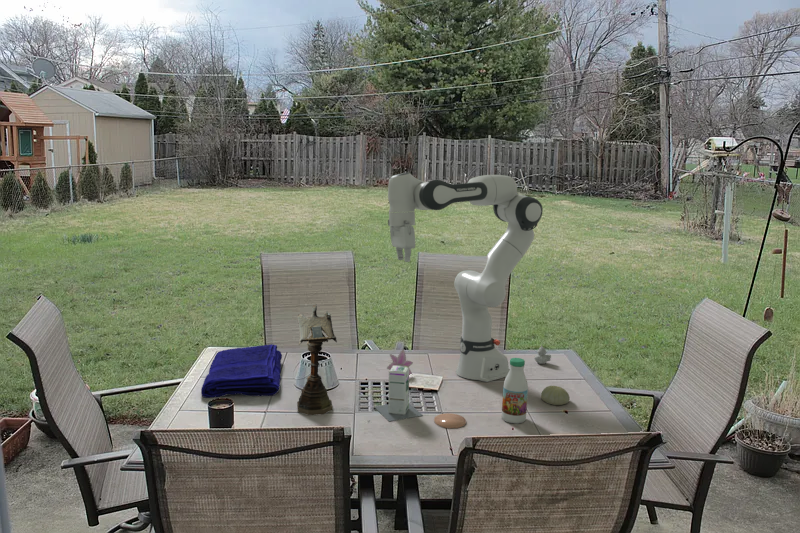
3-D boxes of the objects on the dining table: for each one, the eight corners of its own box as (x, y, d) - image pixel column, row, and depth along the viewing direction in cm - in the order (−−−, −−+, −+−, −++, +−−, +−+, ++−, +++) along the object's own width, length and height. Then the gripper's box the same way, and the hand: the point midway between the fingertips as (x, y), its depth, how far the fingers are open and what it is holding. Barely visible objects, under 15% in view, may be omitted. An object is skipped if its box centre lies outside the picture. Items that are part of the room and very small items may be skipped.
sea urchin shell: (555, 404, 213) (545, 381, 217) (543, 413, 220) (533, 391, 224) (577, 399, 218) (566, 377, 222) (564, 409, 224) (554, 387, 228)
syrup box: (405, 415, 206) (406, 372, 203) (387, 413, 207) (388, 370, 204) (408, 408, 211) (410, 366, 208) (391, 406, 212) (392, 364, 209)
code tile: (406, 401, 217) (406, 401, 217) (423, 415, 206) (423, 415, 206) (374, 407, 212) (374, 406, 212) (388, 421, 201) (388, 420, 201)
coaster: (455, 412, 209) (455, 411, 209) (471, 425, 200) (471, 423, 200) (428, 417, 205) (428, 416, 205) (443, 430, 196) (443, 429, 196)
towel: (199, 400, 214) (199, 375, 213) (214, 364, 249) (213, 342, 247) (279, 397, 218) (279, 373, 217) (283, 362, 253) (283, 341, 251)
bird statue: (341, 420, 201) (342, 312, 195) (299, 423, 198) (299, 313, 192) (335, 399, 217) (336, 299, 210) (296, 401, 214) (295, 300, 208)
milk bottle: (498, 414, 209) (502, 355, 205) (522, 413, 210) (526, 355, 206) (504, 424, 201) (508, 363, 198) (528, 424, 202) (532, 363, 198)
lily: (381, 381, 237) (390, 365, 232) (381, 361, 246) (389, 345, 241) (409, 389, 240) (418, 372, 235) (407, 369, 248) (416, 353, 244)
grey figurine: (532, 361, 261) (534, 342, 260) (549, 361, 261) (550, 342, 260) (535, 365, 256) (537, 346, 254) (552, 366, 256) (553, 347, 254)
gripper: (419, 220, 211) (420, 262, 212) (403, 220, 230) (405, 258, 232) (400, 221, 209) (402, 263, 210) (386, 221, 229) (388, 259, 230)
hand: (403, 260), depth 221 cm, fingers open, 8 cm apart
